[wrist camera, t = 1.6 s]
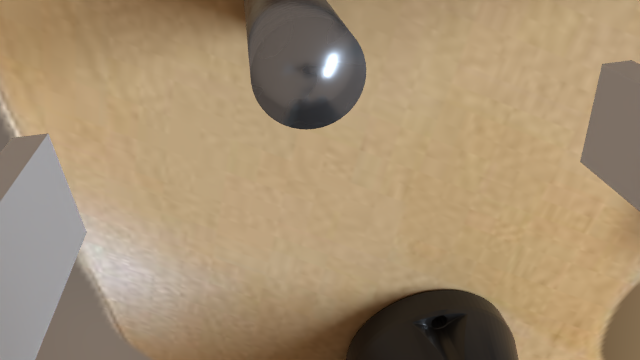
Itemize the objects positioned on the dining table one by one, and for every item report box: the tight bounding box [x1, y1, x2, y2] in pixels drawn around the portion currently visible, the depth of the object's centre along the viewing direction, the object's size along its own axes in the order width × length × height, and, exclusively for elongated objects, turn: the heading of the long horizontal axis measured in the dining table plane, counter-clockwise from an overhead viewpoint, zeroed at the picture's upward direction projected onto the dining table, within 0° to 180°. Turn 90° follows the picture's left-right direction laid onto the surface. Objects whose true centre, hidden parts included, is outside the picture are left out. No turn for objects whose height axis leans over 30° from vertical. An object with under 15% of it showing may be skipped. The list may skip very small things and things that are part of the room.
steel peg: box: [244, 0, 366, 129], centre depth 24 cm, size 4×4×14 cm
